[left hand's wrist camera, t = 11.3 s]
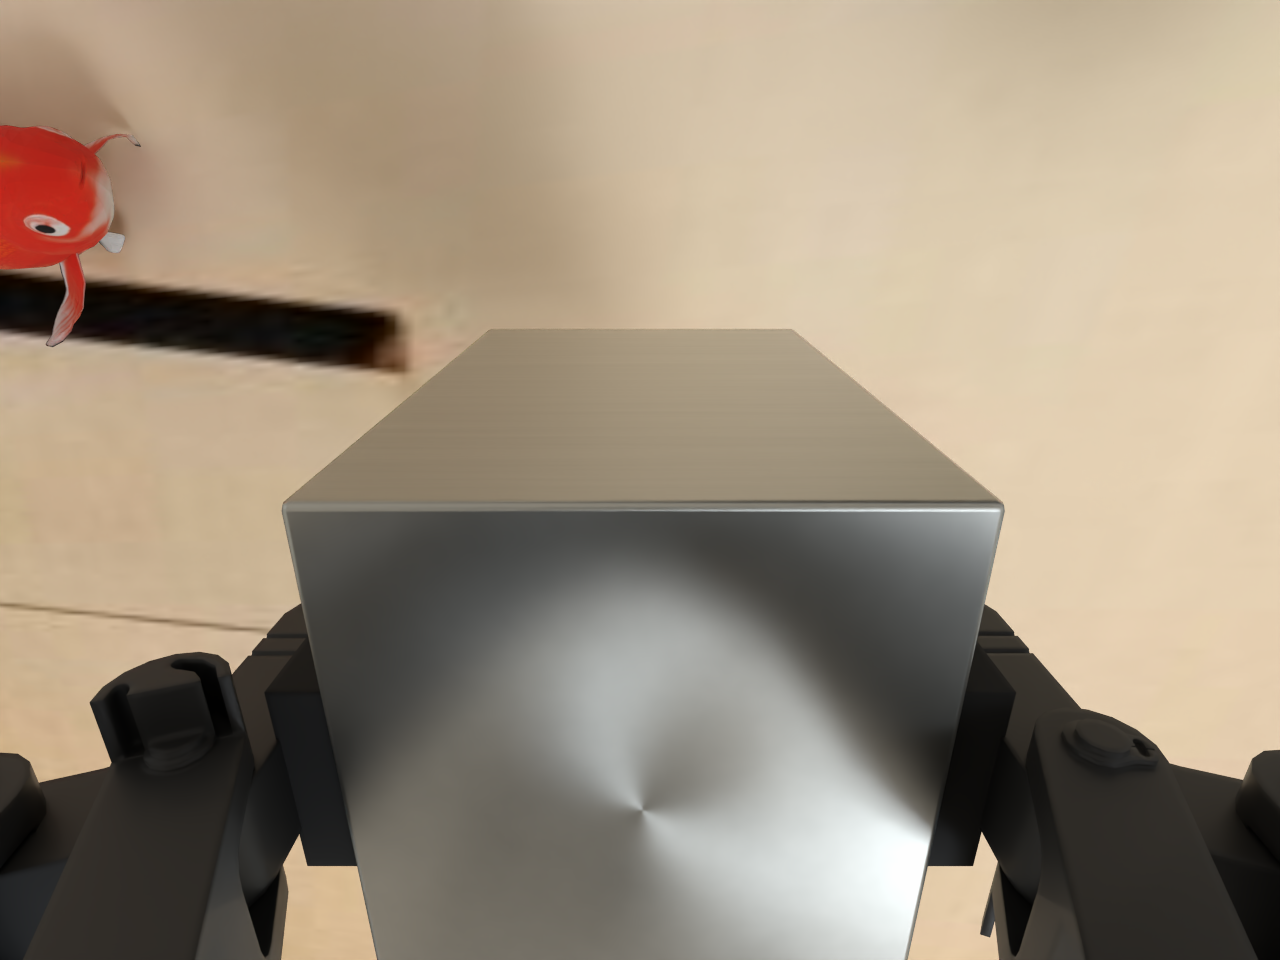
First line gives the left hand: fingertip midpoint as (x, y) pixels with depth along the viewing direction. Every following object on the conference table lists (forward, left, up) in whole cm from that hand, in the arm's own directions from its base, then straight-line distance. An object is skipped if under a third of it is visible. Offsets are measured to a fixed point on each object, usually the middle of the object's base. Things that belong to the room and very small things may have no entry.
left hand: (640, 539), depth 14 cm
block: (0, 0, -3) cm, 3 cm away
